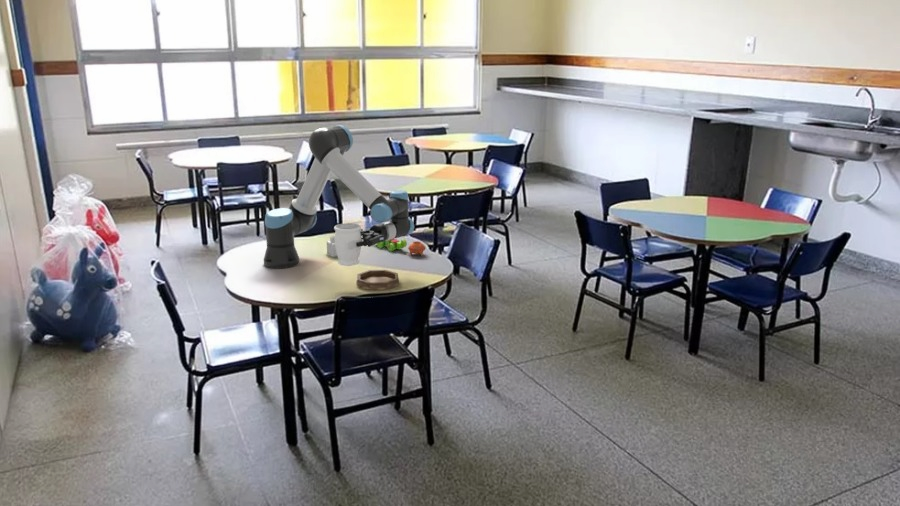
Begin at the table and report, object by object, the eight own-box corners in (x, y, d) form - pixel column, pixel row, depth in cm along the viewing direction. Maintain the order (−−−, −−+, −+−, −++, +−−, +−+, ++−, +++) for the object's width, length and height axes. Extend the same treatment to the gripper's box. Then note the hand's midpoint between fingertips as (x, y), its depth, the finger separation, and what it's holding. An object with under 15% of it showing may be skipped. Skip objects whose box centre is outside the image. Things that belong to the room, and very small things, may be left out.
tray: (356, 290, 269) (356, 284, 269) (356, 276, 286) (356, 270, 285) (400, 289, 272) (400, 282, 271) (398, 275, 288) (397, 269, 287)
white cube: (344, 255, 314) (344, 242, 313) (332, 257, 311) (331, 244, 310) (339, 251, 319) (338, 239, 317) (327, 253, 316) (326, 241, 314)
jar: (356, 268, 266) (355, 230, 261) (331, 266, 268) (329, 228, 263) (365, 260, 275) (364, 223, 271) (341, 258, 278) (339, 222, 273)
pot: (412, 257, 311) (411, 243, 310) (406, 257, 318) (405, 242, 317) (429, 255, 314) (427, 240, 313) (423, 254, 321) (421, 240, 320)
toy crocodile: (369, 245, 330) (369, 233, 328) (380, 242, 334) (380, 230, 332) (398, 254, 317) (398, 241, 315) (408, 251, 322) (408, 238, 320)
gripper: (401, 246, 275) (359, 258, 260) (364, 235, 290) (321, 246, 274) (401, 228, 273) (358, 239, 258) (363, 218, 288) (321, 228, 272)
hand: (339, 243), depth 266 cm, fingers closed on jar, 10 cm apart
